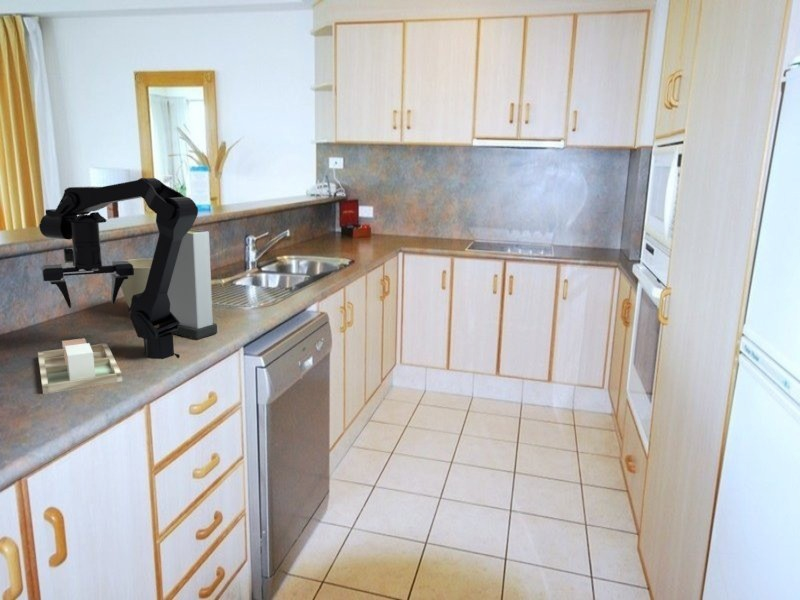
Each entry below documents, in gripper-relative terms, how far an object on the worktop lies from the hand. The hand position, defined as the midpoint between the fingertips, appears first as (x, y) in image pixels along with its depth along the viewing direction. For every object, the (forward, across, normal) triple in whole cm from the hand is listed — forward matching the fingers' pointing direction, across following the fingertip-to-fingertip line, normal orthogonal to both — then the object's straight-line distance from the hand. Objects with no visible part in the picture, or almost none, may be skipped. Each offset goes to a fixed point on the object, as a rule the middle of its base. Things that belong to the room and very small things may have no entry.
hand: (91, 305), depth 134 cm
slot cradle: (+11, +5, +16) cm, 20 cm away
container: (+11, -23, -4) cm, 26 cm away
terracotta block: (+10, +5, +10) cm, 15 cm away
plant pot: (+11, -17, -28) cm, 34 cm away
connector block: (+10, +5, +21) cm, 24 cm away
